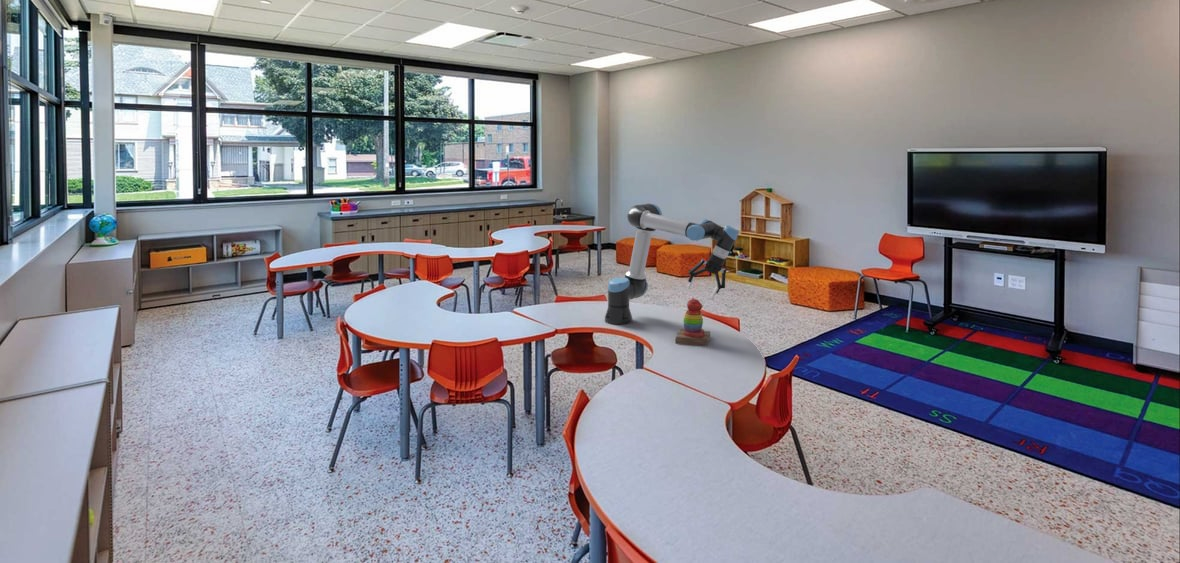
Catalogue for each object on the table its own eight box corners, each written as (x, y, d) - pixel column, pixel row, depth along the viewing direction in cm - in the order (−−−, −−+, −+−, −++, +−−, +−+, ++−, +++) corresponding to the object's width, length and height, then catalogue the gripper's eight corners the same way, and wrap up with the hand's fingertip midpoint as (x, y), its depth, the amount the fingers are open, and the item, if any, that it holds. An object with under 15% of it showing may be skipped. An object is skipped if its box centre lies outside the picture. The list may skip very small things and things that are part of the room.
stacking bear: (703, 338, 294) (705, 302, 290) (682, 337, 296) (683, 301, 292) (704, 331, 304) (705, 297, 300) (683, 330, 306) (684, 296, 302)
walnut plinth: (680, 334, 310) (680, 329, 309) (710, 337, 305) (710, 331, 305) (675, 343, 296) (675, 337, 295) (706, 345, 291) (707, 339, 291)
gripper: (698, 248, 297) (679, 286, 303) (742, 267, 302) (723, 304, 307) (695, 244, 304) (676, 281, 310) (738, 263, 309) (719, 299, 314)
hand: (699, 293), depth 308 cm, fingers open, 13 cm apart
